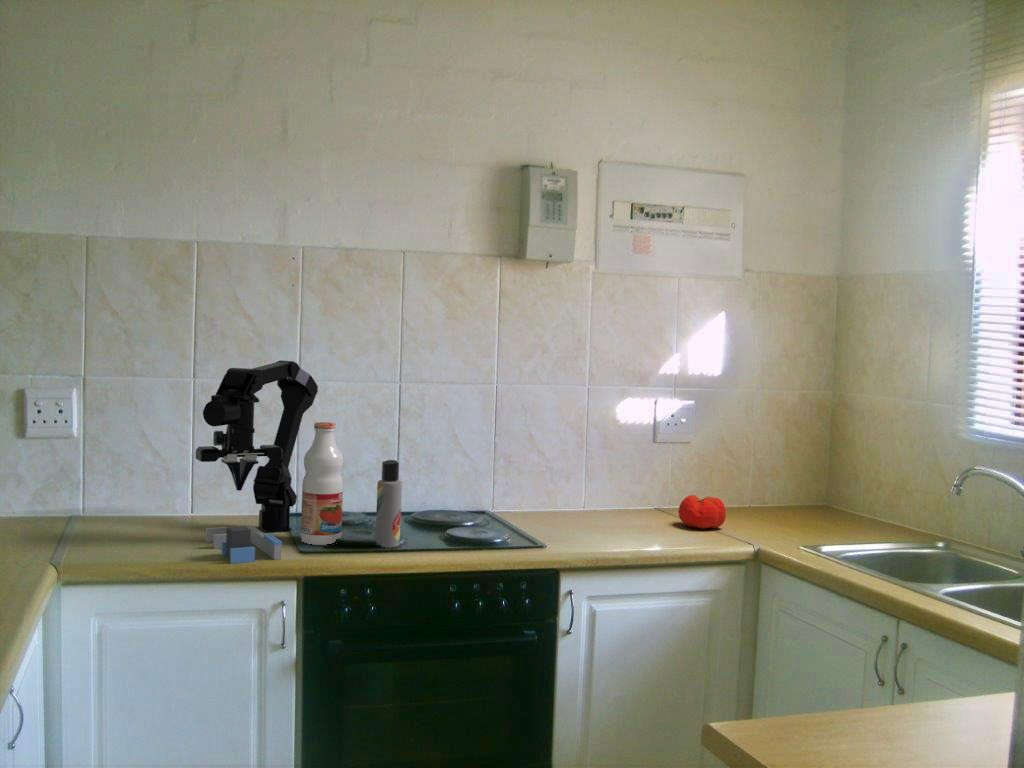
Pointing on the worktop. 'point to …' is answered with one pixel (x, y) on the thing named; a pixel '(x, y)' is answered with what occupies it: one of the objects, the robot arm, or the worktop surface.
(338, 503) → the fruit juice
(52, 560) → the worktop surface
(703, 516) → the tomato
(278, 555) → the grey and blue blocks
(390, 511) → the lotion bottle
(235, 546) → the dark grey rectangular block
